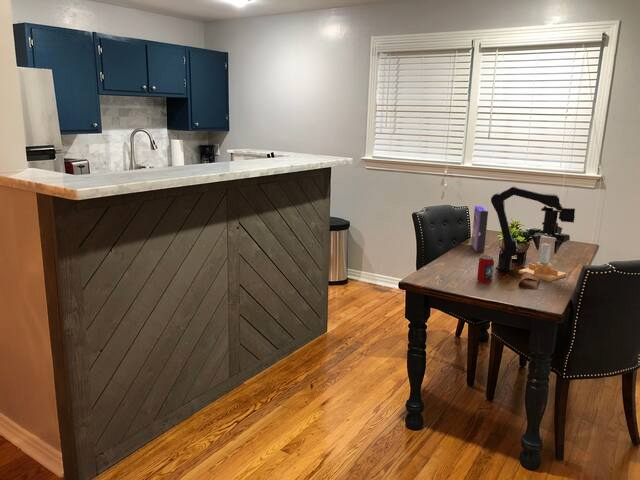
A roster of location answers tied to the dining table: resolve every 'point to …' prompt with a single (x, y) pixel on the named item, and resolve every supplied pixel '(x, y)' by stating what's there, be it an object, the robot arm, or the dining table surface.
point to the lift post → (545, 253)
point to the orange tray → (543, 271)
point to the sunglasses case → (529, 281)
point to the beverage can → (485, 269)
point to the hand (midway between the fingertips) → (546, 251)
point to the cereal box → (479, 228)
